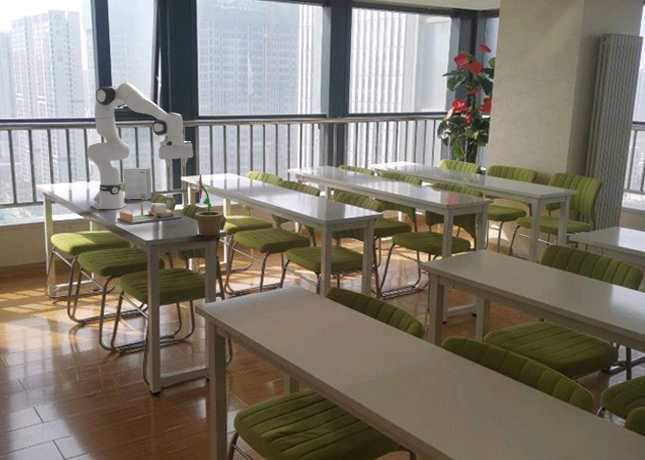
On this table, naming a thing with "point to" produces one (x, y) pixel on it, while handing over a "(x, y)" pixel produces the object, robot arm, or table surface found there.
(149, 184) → the hard drive box
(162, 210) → the tan box with handle
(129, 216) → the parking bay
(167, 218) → the dock mat
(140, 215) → the rails
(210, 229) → the flowerpot
